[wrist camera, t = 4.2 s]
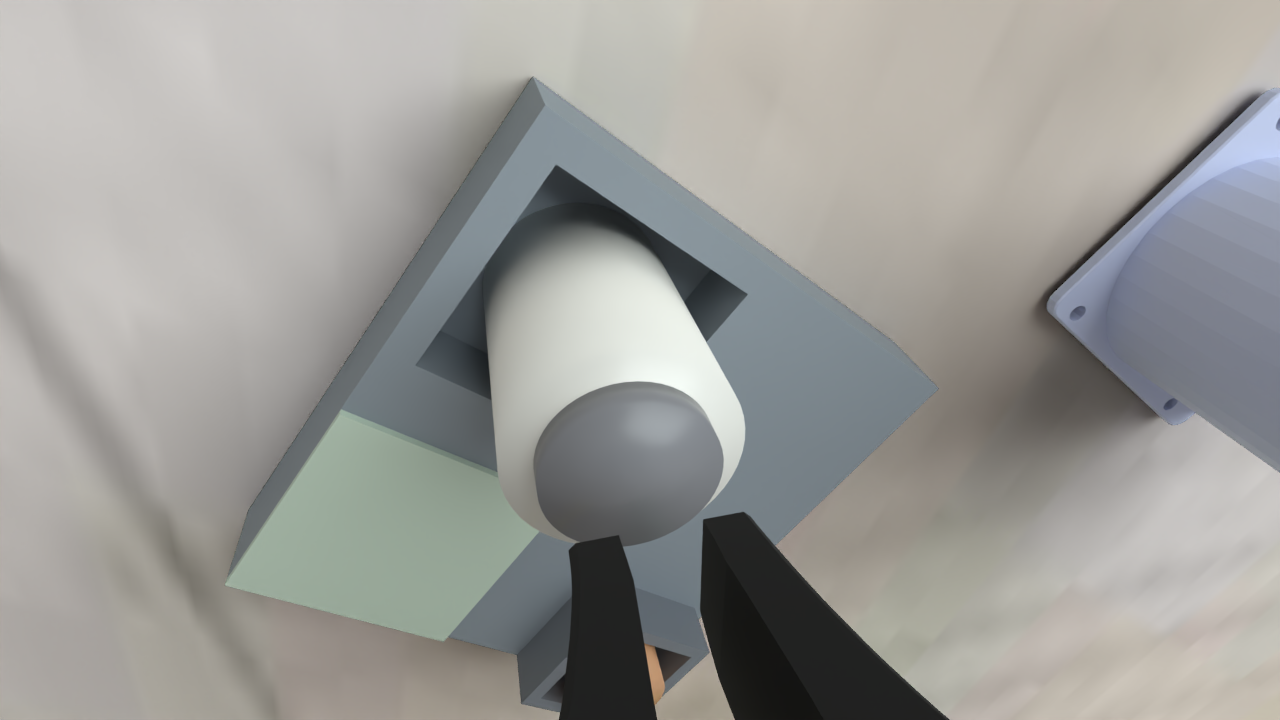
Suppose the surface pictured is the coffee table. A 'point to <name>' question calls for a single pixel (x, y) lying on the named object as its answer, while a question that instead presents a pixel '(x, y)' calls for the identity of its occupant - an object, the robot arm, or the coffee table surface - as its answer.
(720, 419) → the cylinder
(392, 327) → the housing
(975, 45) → the coffee table surface
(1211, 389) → the robot arm
